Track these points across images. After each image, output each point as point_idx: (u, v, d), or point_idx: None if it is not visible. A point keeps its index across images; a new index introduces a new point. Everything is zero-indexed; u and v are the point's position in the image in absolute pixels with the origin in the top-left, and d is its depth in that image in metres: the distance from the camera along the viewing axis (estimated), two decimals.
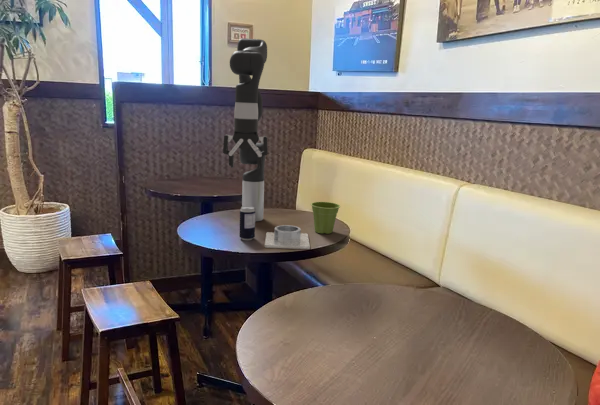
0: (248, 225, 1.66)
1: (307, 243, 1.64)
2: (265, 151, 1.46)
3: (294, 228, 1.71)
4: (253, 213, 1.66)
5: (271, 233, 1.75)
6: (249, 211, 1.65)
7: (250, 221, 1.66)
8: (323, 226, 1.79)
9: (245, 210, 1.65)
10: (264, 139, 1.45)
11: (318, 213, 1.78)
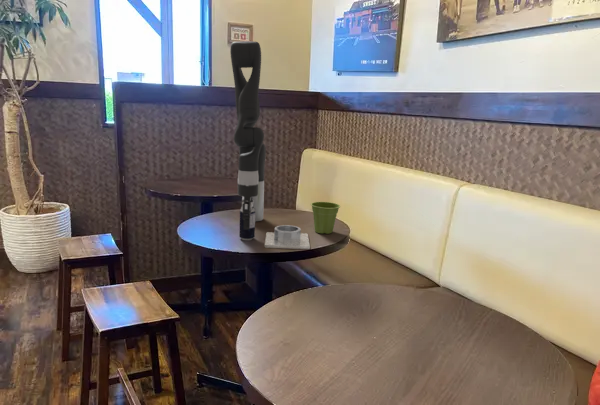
0: None
1: (307, 243, 1.64)
2: None
3: (294, 228, 1.71)
4: (253, 213, 1.66)
5: (271, 233, 1.75)
6: None
7: (250, 221, 1.66)
8: (323, 226, 1.79)
9: None
10: (252, 199, 1.73)
11: (318, 213, 1.78)
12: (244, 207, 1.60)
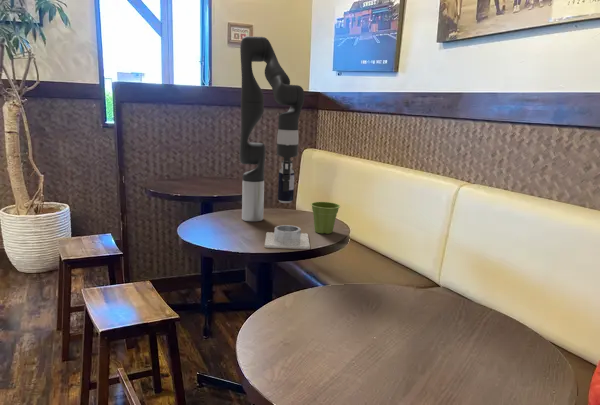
0: None
1: (307, 243, 1.64)
2: None
3: (294, 228, 1.71)
4: (292, 174, 1.61)
5: (271, 233, 1.75)
6: None
7: (289, 183, 1.61)
8: (323, 226, 1.79)
9: None
10: (290, 161, 1.68)
11: (318, 213, 1.78)
12: (284, 167, 1.56)
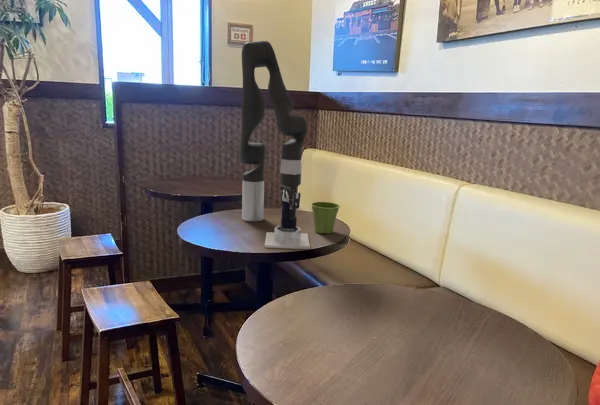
0: None
1: (307, 243, 1.64)
2: None
3: None
4: None
5: (271, 233, 1.75)
6: None
7: None
8: (323, 226, 1.79)
9: None
10: None
11: (318, 213, 1.78)
12: (295, 196, 1.59)
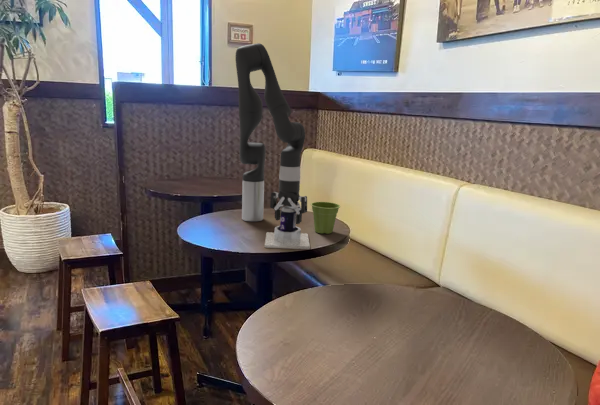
0: (295, 224, 1.66)
1: (307, 243, 1.64)
2: None
3: None
4: None
5: (271, 233, 1.75)
6: None
7: (295, 220, 1.67)
8: (323, 226, 1.79)
9: (293, 210, 1.64)
10: None
11: (318, 213, 1.78)
12: (304, 200, 1.61)
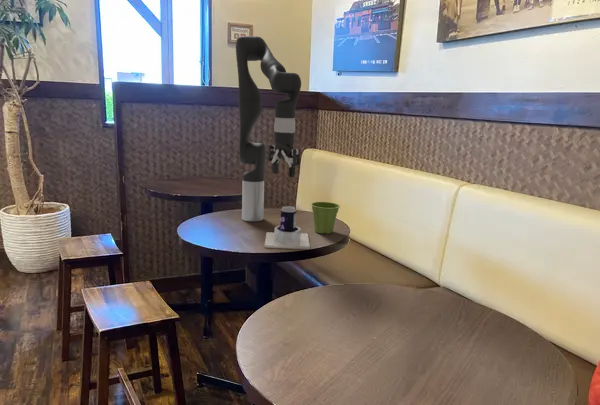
0: (295, 224, 1.66)
1: (307, 243, 1.64)
2: None
3: None
4: None
5: (271, 233, 1.75)
6: (295, 210, 1.66)
7: (295, 220, 1.67)
8: (323, 226, 1.79)
9: (293, 210, 1.64)
10: None
11: (318, 213, 1.78)
12: (296, 152, 1.58)
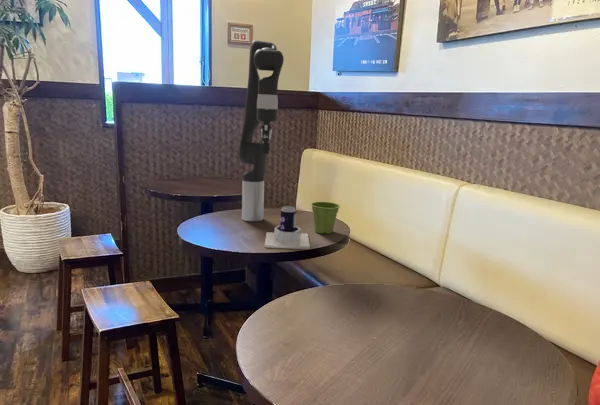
0: (295, 224, 1.66)
1: (307, 243, 1.64)
2: None
3: None
4: None
5: (271, 233, 1.75)
6: (295, 210, 1.66)
7: (295, 220, 1.67)
8: (323, 226, 1.79)
9: (293, 210, 1.64)
10: (270, 125, 1.72)
11: (318, 213, 1.78)
12: (264, 127, 1.59)
